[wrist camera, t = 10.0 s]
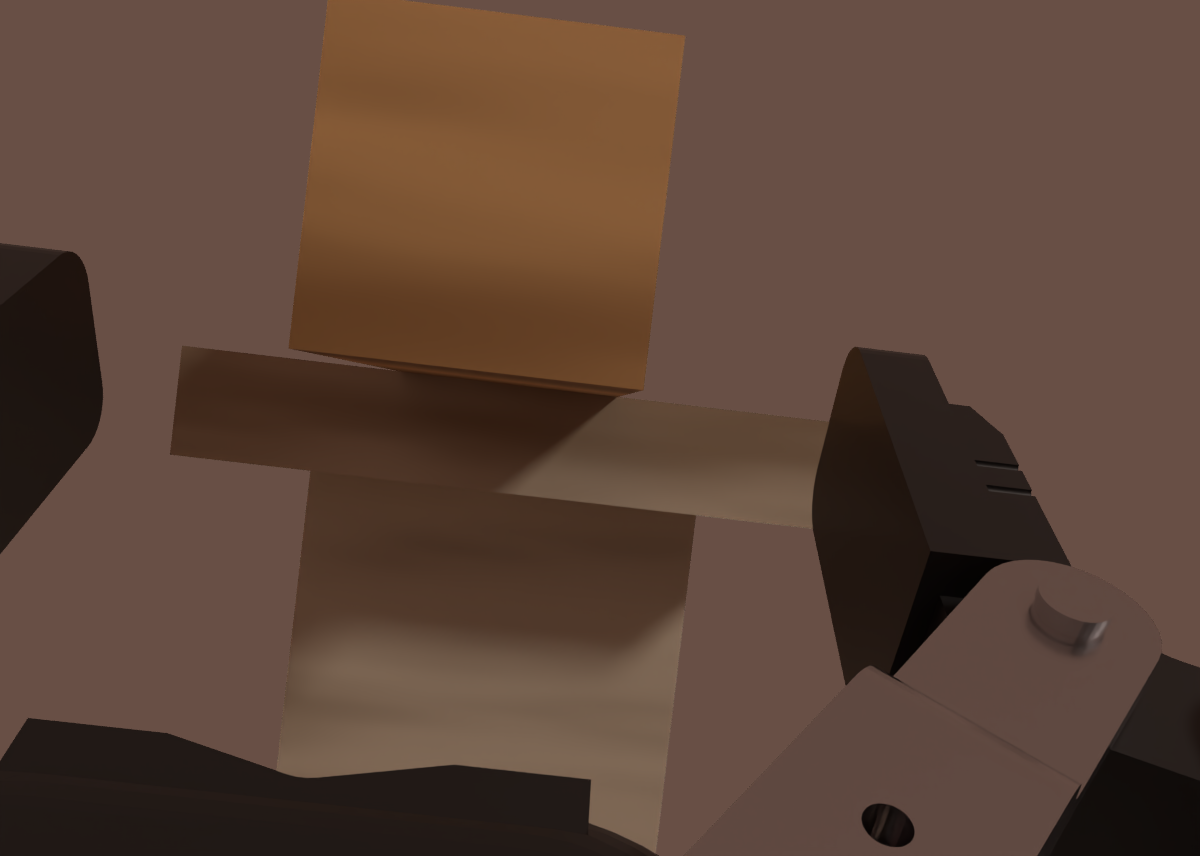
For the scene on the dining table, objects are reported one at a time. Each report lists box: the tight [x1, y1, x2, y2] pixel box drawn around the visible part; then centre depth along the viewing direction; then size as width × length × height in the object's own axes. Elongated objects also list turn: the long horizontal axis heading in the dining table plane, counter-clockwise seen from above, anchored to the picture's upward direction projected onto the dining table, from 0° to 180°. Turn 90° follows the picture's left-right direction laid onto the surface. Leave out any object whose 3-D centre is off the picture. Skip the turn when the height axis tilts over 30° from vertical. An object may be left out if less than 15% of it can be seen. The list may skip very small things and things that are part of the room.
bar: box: [289, 0, 685, 397], centre depth 23 cm, size 20×4×4 cm, turn 1°
